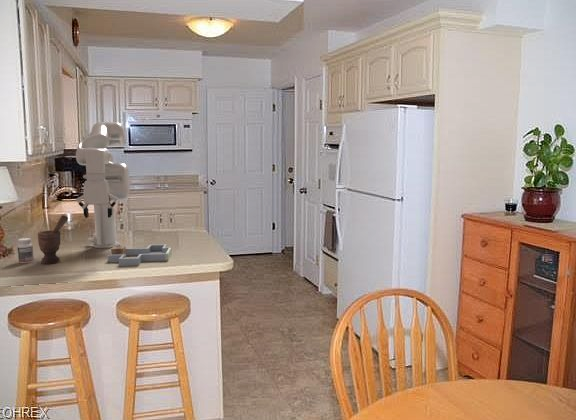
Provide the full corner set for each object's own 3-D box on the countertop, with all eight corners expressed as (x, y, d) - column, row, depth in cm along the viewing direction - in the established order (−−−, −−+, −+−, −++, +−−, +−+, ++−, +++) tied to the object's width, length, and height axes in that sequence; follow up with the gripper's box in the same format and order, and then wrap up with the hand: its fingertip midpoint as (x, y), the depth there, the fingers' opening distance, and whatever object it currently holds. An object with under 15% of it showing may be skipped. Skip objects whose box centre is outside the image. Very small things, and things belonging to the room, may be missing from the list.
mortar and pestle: (64, 257, 223) (61, 213, 220) (72, 261, 217) (69, 215, 214) (36, 262, 215) (33, 215, 212) (44, 265, 209) (41, 218, 206)
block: (111, 260, 219) (111, 248, 218) (114, 257, 224) (113, 246, 223) (123, 259, 219) (122, 248, 218) (125, 257, 224) (125, 246, 223)
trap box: (104, 266, 208) (103, 259, 207) (118, 251, 234) (118, 245, 234) (165, 264, 210) (165, 257, 210) (173, 250, 237) (173, 244, 237)
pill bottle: (22, 260, 218) (20, 237, 217) (35, 260, 218) (34, 237, 217) (16, 263, 212) (14, 240, 211) (30, 263, 213) (28, 240, 211)
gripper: (72, 178, 211) (74, 219, 213) (115, 178, 213) (117, 218, 215) (77, 177, 218) (80, 216, 221) (118, 176, 220) (120, 215, 223)
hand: (98, 217), depth 218 cm, fingers open, 9 cm apart
